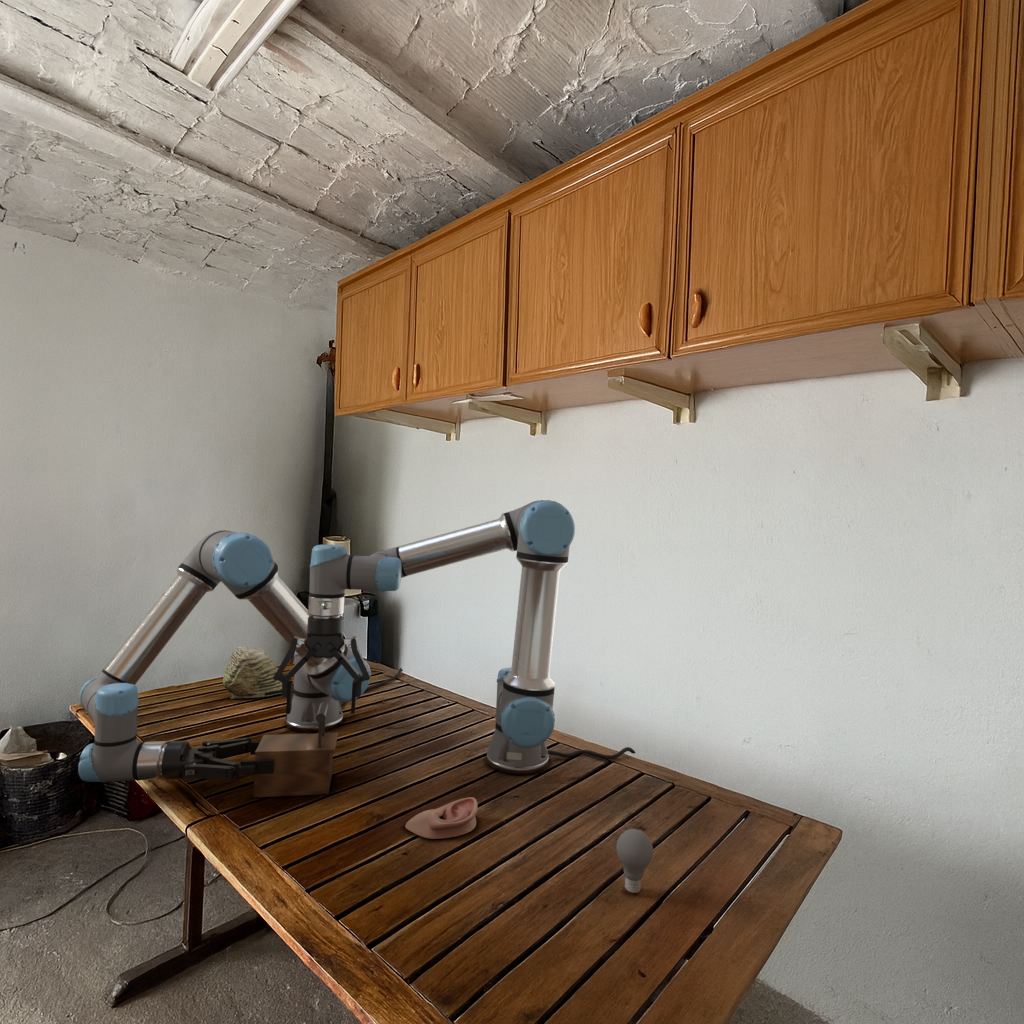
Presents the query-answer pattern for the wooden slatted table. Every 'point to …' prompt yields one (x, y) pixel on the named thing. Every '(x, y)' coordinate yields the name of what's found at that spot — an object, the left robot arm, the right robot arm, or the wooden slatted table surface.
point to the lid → (300, 740)
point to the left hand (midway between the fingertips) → (277, 756)
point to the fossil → (251, 674)
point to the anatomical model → (445, 820)
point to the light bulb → (634, 857)
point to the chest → (295, 775)
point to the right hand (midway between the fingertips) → (321, 711)
